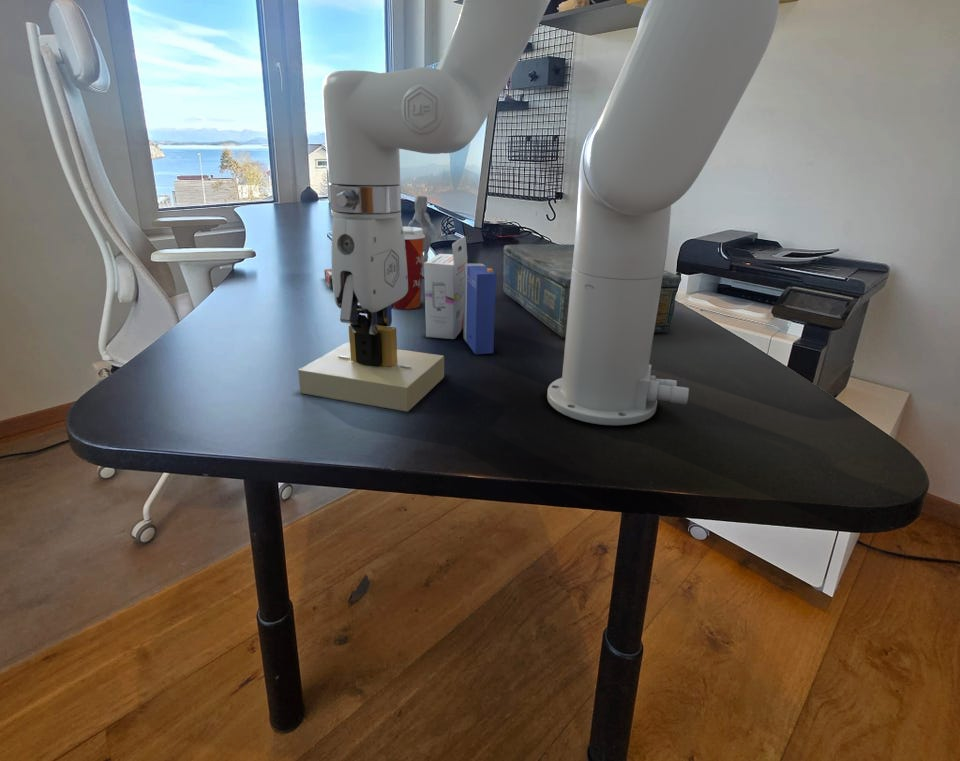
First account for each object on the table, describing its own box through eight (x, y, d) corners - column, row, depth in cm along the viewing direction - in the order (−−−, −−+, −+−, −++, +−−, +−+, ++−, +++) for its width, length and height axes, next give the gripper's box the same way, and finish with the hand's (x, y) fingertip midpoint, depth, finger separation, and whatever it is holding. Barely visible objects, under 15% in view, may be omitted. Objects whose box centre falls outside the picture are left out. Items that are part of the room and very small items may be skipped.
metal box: (590, 289, 119) (595, 242, 115) (676, 334, 90) (687, 274, 86) (497, 292, 114) (499, 244, 110) (557, 341, 85) (562, 278, 81)
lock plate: (444, 377, 70) (444, 354, 69) (407, 412, 61) (407, 386, 60) (348, 362, 74) (347, 340, 73) (300, 393, 65) (297, 368, 63)
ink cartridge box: (438, 322, 93) (438, 233, 87) (467, 324, 92) (468, 235, 86) (423, 337, 85) (422, 241, 80) (454, 340, 84) (455, 243, 79)
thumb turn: (397, 362, 66) (396, 325, 65) (391, 367, 65) (390, 329, 63) (357, 357, 68) (354, 320, 66) (350, 361, 66) (348, 323, 65)
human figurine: (447, 280, 124) (447, 196, 117) (435, 282, 121) (434, 197, 114) (411, 272, 131) (409, 193, 124) (399, 274, 128) (396, 193, 121)
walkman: (493, 353, 79) (496, 271, 75) (475, 354, 79) (477, 271, 74) (480, 336, 86) (482, 260, 82) (463, 337, 86) (464, 261, 81)
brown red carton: (352, 264, 125) (363, 274, 112) (353, 277, 126) (364, 289, 113) (322, 266, 123) (329, 276, 109) (323, 279, 124) (330, 291, 110)
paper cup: (431, 308, 101) (430, 231, 95) (390, 311, 98) (387, 232, 93) (419, 298, 108) (418, 225, 102) (380, 301, 105) (377, 226, 99)
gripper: (361, 210, 51) (371, 389, 58) (425, 199, 65) (427, 344, 72) (292, 205, 53) (310, 379, 60) (369, 195, 67) (376, 338, 74)
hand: (374, 359), depth 66 cm, fingers closed on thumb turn
